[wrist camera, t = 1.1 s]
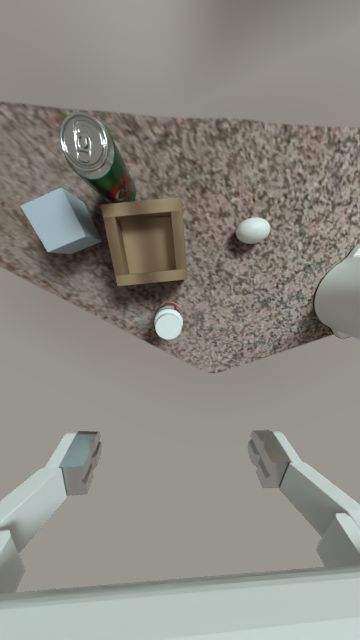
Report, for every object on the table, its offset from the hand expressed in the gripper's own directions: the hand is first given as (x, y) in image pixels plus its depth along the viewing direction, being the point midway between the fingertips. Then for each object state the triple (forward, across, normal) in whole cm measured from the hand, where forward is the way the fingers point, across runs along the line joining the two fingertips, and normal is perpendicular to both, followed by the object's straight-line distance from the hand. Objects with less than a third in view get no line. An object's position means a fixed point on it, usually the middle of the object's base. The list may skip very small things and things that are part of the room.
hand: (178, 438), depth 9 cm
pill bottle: (+26, 0, 0) cm, 26 cm away
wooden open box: (+26, +4, -11) cm, 29 cm away
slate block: (+26, +16, -13) cm, 34 cm away
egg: (+26, -13, -15) cm, 32 cm away
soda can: (+26, +9, -19) cm, 34 cm away
